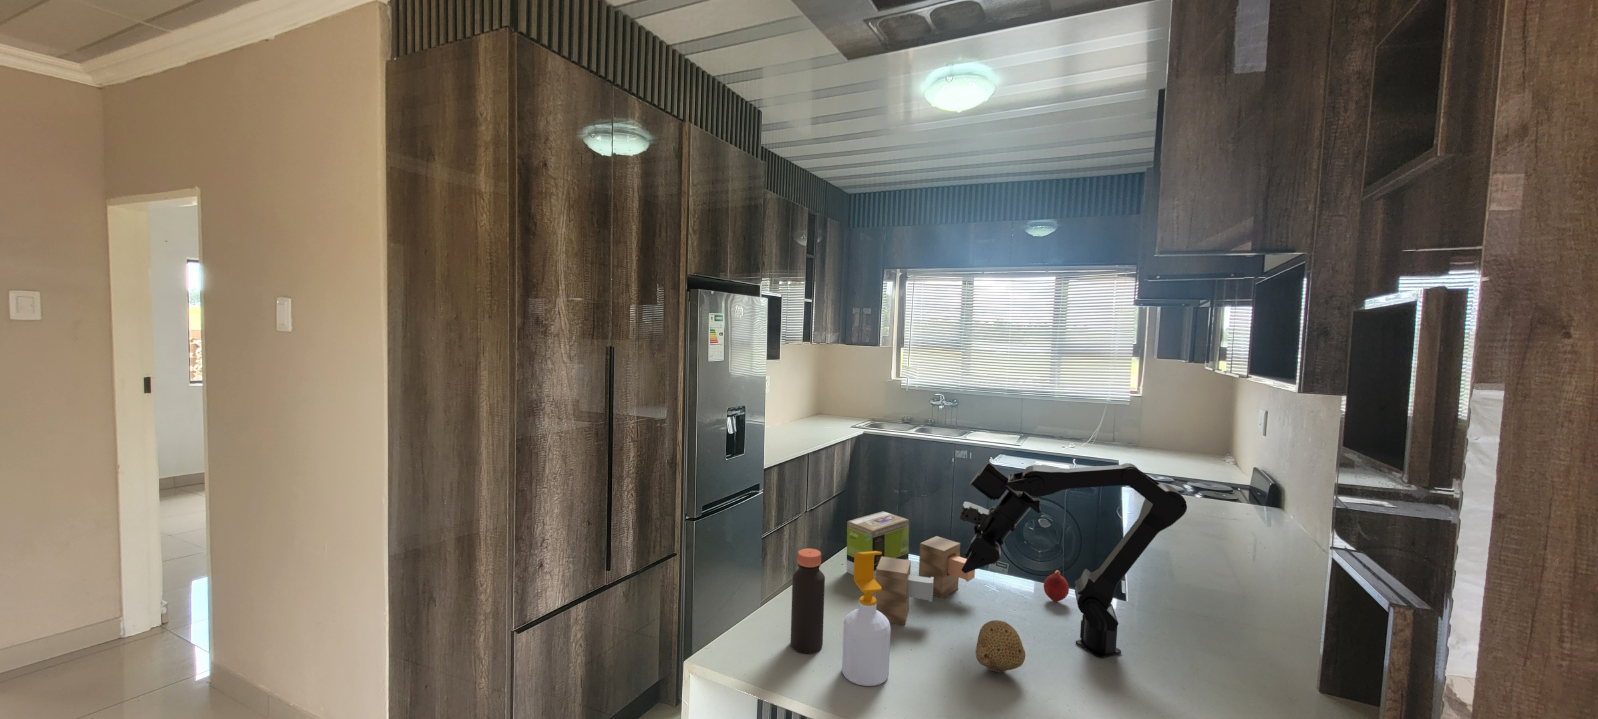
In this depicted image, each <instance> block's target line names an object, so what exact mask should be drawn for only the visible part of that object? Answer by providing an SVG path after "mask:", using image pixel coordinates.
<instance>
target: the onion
mask: <svg viewBox="0 0 1598 719" xmlns="http://www.w3.org/2000/svg"><path fill="white" fill-rule="evenodd" d="M1043 591H1044V593H1045V595H1046V596H1047V597H1048V598H1049V599H1050V600H1052V601H1053V602H1054V603H1059V602H1060V601H1062V600H1064V599H1066V597H1068V595H1069V592H1070V587H1069V583H1068V581H1067V580H1066V578H1065V577H1064V576H1062V575H1061V571H1060V570H1058V569H1057V570H1055V571H1054V573H1052V574H1050V575H1048V576H1047V577H1046V578H1045V579H1044V582H1043Z"/></svg>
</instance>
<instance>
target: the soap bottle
mask: <svg viewBox="0 0 1598 719" xmlns="http://www.w3.org/2000/svg"><path fill="white" fill-rule="evenodd" d="M880 554H882V552H879V551H870V552H857V553H855V556H854V575H853V581H854V583H855V585H856V586H857V587H858V588H859V590H860V591H861V593H863V595H862V596H860V597H859V601H858V608H856V609H854V610H852V611H851V612H849V613H848V614H847V615H846V616H845V618H844V620H843V633H842V635H843V637H842V639H843V640H842V662H841V666H842V667H841V673H842V675H843V676H844V677H845V679H847V680H848V681H849V682H850V683H853V684H856V685H858V686H864V687H874V686H879V685H881V684H883V683H885V682H886V681H887V679H888V678H889V674H890V654H891V653H890V652H891V631H892V630H891V623H889V620H888V619H887V618H886V617H885V616H884V615H883V614H882V613H881V612H879V611H878V610H876V601H877V600H876V598H875V596H873V594H875V591H881V590H882V587H881V586H880V585H879V584H878V583H877V582H876V581H875V579H874V556H875V555H880Z"/></svg>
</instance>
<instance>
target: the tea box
mask: <svg viewBox="0 0 1598 719" xmlns="http://www.w3.org/2000/svg"><path fill="white" fill-rule="evenodd" d="M846 525H847V526H846V532H847V533H846V573H847V574H850V575H852V576H854V556H855V553H857V552H870V551H879V552H882V554H880V555H875V556H874V579H875V581H876V569H877V566H878V564H879V561H880V559H881V557H889V558H896V559H904V560H909V557H910V556H909V553H910V548H909V547H910V519H908V518H905V517H903V516H899V515H896V514H892V513H889V512H886V511H884V510H883V511H879V512H875V513H871V514H868V515H864V516H861V517H858V518H854V519H851V520H848V521H847V524H846Z"/></svg>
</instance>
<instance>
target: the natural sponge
mask: <svg viewBox="0 0 1598 719" xmlns="http://www.w3.org/2000/svg"><path fill="white" fill-rule="evenodd" d="M978 633H979V634H978V637H977V642H976V647H975V658H976V660H977V662H978V663H979V664H980V665H981V666H983V667H985V668H986V669H989V670H990V671H991V672H995V673H1004V672H1006V671H1012V670H1015V669H1018V668H1020V667H1022V665H1023V664H1024V662H1025V661H1026V651H1025V648H1024V646H1023V643H1022V640H1021V637H1020V635H1019V633H1018V631H1017V630H1016V628H1014V627H1013V626H1011V624H1010V623H1008V622H1006V621H1002V620H997V619H995V620H990V621H987V622H985V623H984V624H983V625H982V626H981V628H980V630H979V632H978Z"/></svg>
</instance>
